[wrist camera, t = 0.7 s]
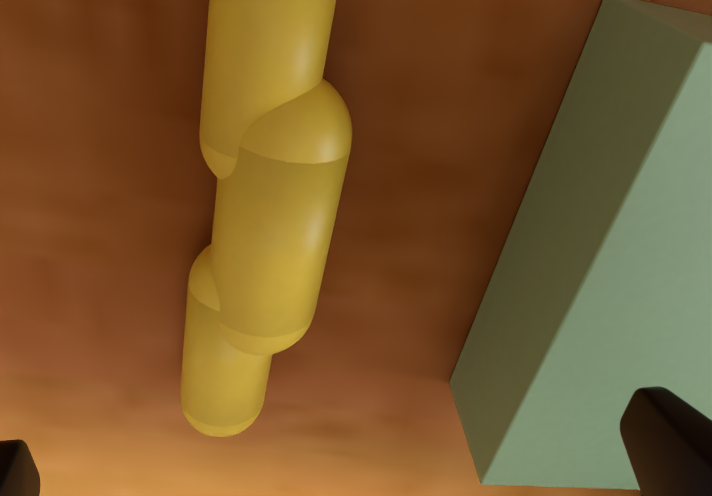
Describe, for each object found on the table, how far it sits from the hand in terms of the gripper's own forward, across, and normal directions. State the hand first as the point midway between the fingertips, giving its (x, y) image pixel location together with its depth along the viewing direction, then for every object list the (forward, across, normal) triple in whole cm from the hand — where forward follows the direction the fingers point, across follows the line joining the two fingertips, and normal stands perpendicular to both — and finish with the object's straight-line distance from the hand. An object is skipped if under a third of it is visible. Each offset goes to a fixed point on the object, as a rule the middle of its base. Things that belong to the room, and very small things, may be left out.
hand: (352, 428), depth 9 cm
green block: (+11, -12, +5) cm, 17 cm away
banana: (+12, +1, +3) cm, 12 cm away
